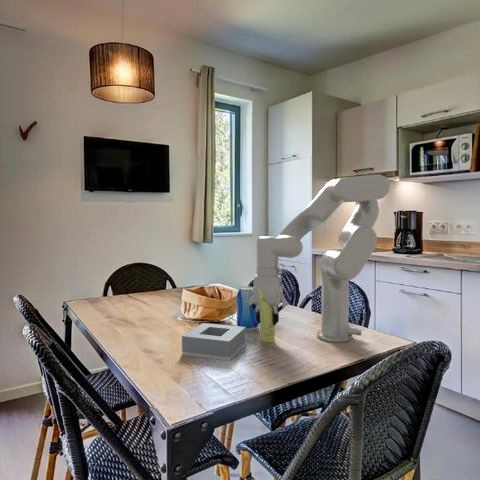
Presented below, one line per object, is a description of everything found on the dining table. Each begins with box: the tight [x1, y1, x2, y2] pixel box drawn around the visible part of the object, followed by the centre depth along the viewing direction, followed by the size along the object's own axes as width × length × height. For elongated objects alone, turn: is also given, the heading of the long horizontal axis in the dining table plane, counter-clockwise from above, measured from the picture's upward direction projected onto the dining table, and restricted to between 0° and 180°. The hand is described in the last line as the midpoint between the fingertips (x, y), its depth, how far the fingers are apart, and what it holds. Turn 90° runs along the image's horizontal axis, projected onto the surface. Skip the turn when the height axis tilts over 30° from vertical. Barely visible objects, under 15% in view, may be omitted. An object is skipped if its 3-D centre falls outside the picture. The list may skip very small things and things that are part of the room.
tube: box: [258, 287, 276, 343], centre depth 137 cm, size 6×5×20 cm
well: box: [181, 322, 247, 362], centre depth 129 cm, size 16×16×6 cm
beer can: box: [236, 286, 260, 332], centre depth 152 cm, size 8×8×16 cm
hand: (267, 322), depth 138 cm, fingers closed on tube, 5 cm apart
